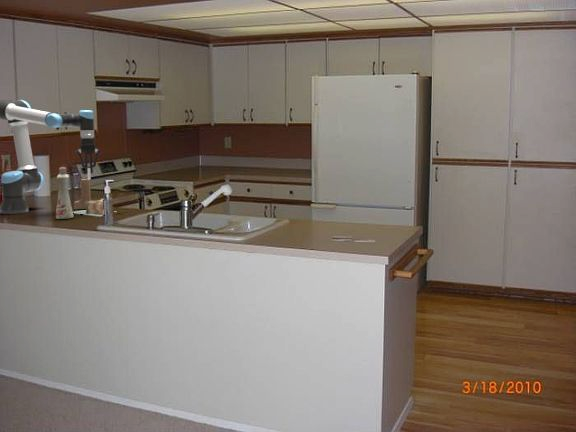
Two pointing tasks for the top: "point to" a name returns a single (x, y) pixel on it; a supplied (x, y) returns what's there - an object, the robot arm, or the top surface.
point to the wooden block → (83, 195)
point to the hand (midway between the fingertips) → (89, 179)
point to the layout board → (85, 213)
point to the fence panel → (96, 201)
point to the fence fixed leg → (94, 208)
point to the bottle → (63, 196)
